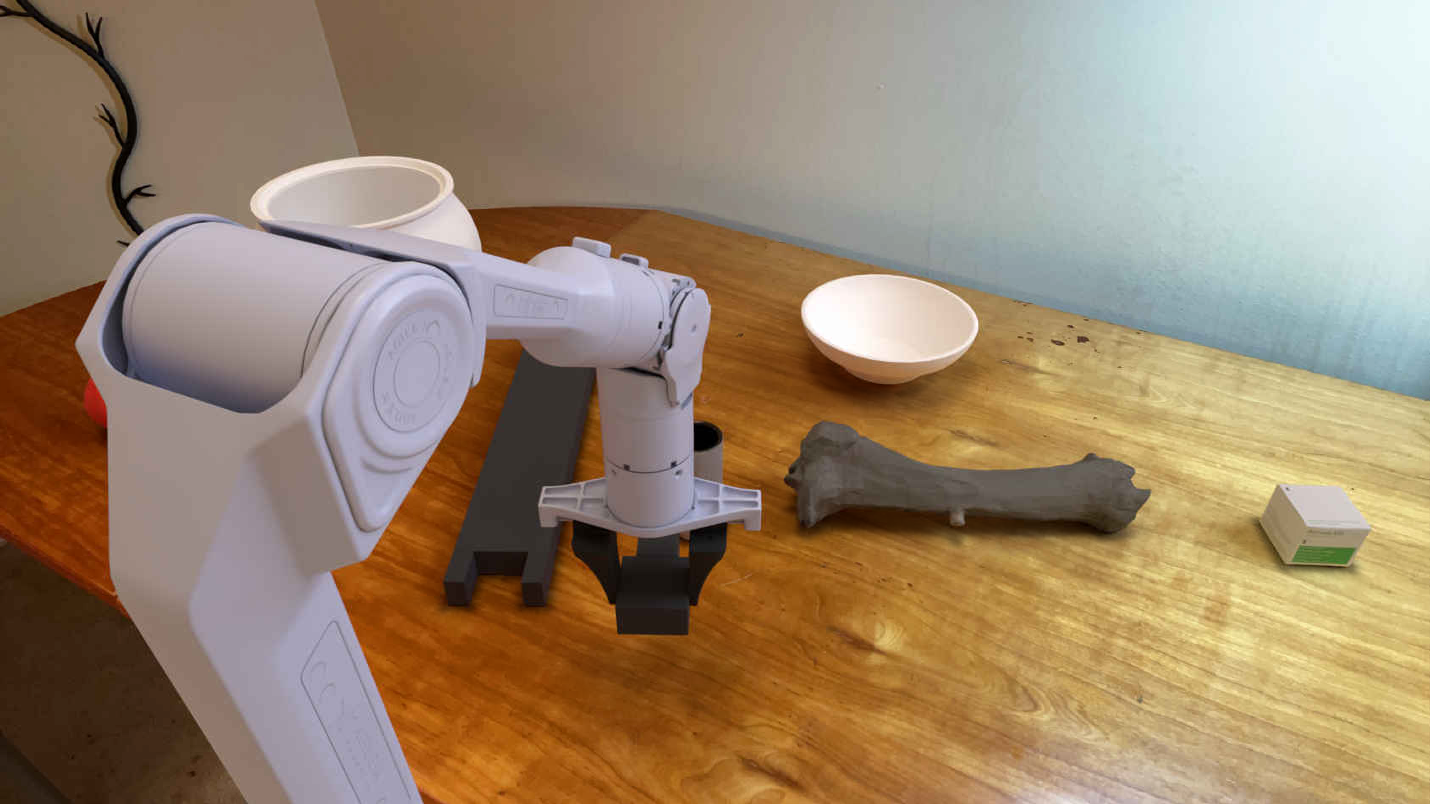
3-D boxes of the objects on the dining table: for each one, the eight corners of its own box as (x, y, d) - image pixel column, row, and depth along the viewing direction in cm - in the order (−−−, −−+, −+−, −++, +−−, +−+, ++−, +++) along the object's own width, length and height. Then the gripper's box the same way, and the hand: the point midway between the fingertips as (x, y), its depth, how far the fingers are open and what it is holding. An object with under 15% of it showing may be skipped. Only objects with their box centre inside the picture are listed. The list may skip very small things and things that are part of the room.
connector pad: (688, 636, 64) (687, 608, 62) (617, 634, 64) (614, 607, 62) (692, 554, 70) (692, 527, 68) (628, 553, 70) (626, 526, 69)
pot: (325, 257, 127) (294, 144, 117) (513, 262, 126) (497, 148, 117) (223, 373, 103) (175, 242, 93) (455, 380, 102) (429, 248, 93)
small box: (1284, 566, 79) (1306, 525, 76) (1256, 521, 84) (1275, 481, 81) (1351, 569, 79) (1375, 528, 76) (1319, 524, 84) (1341, 483, 81)
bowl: (957, 431, 95) (968, 376, 91) (777, 395, 100) (780, 342, 96) (976, 339, 110) (986, 289, 106) (819, 312, 115) (823, 263, 111)
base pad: (545, 606, 75) (541, 582, 73) (448, 605, 75) (442, 581, 73) (600, 349, 107) (598, 329, 106) (532, 348, 108) (530, 328, 106)
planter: (731, 519, 84) (733, 430, 78) (704, 549, 80) (704, 458, 74) (690, 502, 85) (688, 413, 80) (662, 530, 82) (659, 440, 76)
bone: (781, 540, 81) (787, 460, 76) (780, 472, 89) (785, 395, 84) (1149, 555, 80) (1180, 474, 75) (1115, 484, 88) (1141, 407, 83)
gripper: (762, 409, 60) (755, 556, 68) (543, 405, 60) (562, 553, 68) (765, 477, 54) (757, 630, 62) (523, 473, 55) (546, 626, 62)
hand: (654, 594), depth 65 cm, fingers closed on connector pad, 5 cm apart
